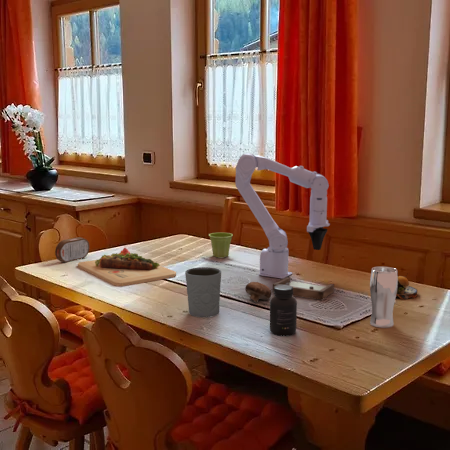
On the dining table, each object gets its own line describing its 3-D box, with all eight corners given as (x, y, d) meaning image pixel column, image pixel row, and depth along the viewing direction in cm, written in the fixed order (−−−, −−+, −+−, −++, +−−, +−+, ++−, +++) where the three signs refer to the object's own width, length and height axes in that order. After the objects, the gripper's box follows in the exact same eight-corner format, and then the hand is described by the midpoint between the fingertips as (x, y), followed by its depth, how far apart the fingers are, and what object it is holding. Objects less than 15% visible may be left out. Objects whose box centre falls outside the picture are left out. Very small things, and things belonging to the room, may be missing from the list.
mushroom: (249, 296, 176) (255, 276, 178) (237, 299, 183) (243, 280, 185) (272, 306, 178) (278, 287, 180) (259, 309, 185) (265, 290, 187)
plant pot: (232, 259, 236) (232, 237, 234) (208, 258, 236) (208, 236, 234) (232, 253, 245) (232, 232, 243) (209, 253, 245) (209, 232, 244)
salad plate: (390, 287, 198) (392, 264, 197) (424, 294, 190) (426, 271, 189) (370, 294, 190) (371, 271, 189) (404, 302, 182) (406, 278, 180)
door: (283, 292, 193) (283, 285, 192) (292, 287, 199) (292, 280, 198) (318, 298, 186) (318, 291, 186) (327, 293, 192) (327, 286, 192)
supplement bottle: (267, 327, 158) (268, 283, 156) (293, 327, 159) (294, 282, 157) (271, 337, 152) (272, 290, 150) (298, 336, 152) (299, 290, 150)
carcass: (272, 292, 191) (272, 282, 191) (286, 284, 200) (286, 275, 199) (321, 300, 183) (322, 290, 182) (333, 291, 192) (334, 282, 191)
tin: (85, 256, 240) (84, 235, 239) (91, 257, 238) (90, 236, 237) (55, 263, 228) (53, 241, 227) (60, 264, 226) (59, 242, 225)
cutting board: (75, 267, 224) (74, 247, 223) (132, 258, 238) (131, 240, 237) (117, 288, 197) (117, 266, 195) (179, 277, 210) (179, 256, 209)
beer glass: (396, 329, 157) (399, 273, 155) (368, 327, 159) (371, 271, 156) (394, 320, 164) (397, 266, 162) (367, 319, 166) (370, 265, 163)
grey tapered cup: (208, 320, 164) (208, 277, 162) (178, 314, 169) (177, 272, 167) (228, 310, 173) (228, 269, 170) (198, 304, 178) (198, 265, 176)
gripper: (321, 214, 199) (320, 254, 201) (336, 208, 211) (335, 246, 213) (301, 212, 202) (300, 252, 204) (317, 207, 214) (316, 244, 217)
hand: (317, 249), depth 209 cm, fingers closed
